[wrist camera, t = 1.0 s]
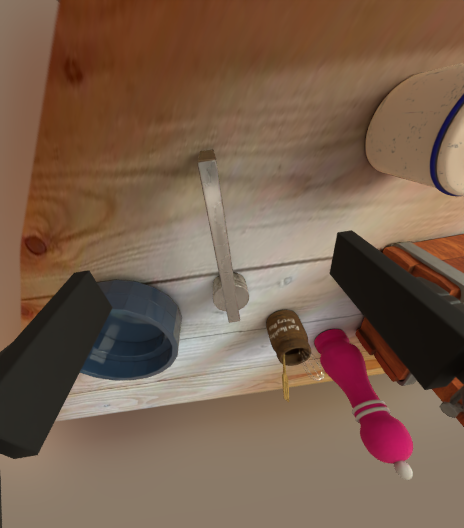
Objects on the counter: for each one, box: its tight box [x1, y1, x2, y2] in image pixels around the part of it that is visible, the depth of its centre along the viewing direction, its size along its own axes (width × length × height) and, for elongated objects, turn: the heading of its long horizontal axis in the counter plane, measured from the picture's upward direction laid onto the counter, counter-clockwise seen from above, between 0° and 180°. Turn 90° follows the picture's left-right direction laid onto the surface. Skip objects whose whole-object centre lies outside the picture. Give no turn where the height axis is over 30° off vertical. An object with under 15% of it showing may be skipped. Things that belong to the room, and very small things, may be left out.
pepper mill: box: [314, 329, 413, 480], centre depth 33 cm, size 7×7×20 cm
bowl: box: [80, 280, 182, 380], centre depth 30 cm, size 16×16×6 cm
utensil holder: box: [266, 310, 324, 402], centre depth 32 cm, size 6×6×12 cm
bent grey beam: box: [198, 150, 249, 323], centre depth 24 cm, size 20×5×7 cm, turn 7°
